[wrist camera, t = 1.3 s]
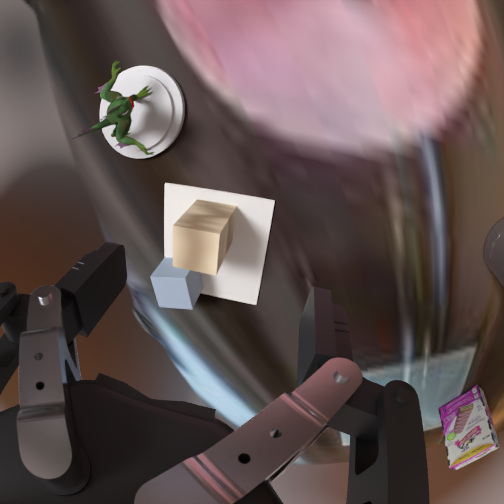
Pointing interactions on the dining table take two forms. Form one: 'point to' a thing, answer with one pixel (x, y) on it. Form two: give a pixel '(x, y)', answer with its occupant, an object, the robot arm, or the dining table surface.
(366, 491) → the robot arm
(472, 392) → the candy bar box
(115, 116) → the monster figurine
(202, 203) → the birch block
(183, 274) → the slate cube
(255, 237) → the white mat
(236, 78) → the dining table surface
